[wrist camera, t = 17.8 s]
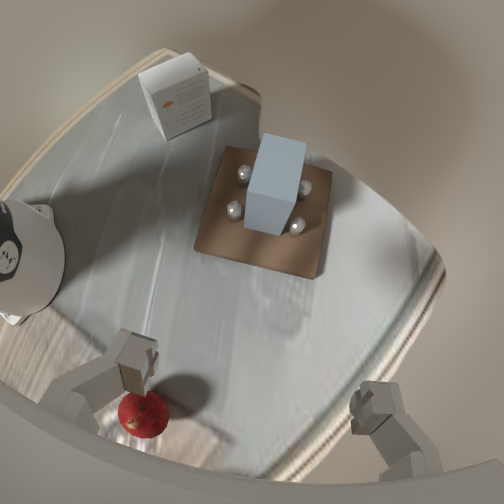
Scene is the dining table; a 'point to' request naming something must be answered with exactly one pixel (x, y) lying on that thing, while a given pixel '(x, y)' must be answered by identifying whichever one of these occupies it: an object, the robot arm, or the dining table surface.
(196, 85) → the small box
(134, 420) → the onion
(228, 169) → the dowel plate
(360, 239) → the dining table surface
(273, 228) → the keyed block
